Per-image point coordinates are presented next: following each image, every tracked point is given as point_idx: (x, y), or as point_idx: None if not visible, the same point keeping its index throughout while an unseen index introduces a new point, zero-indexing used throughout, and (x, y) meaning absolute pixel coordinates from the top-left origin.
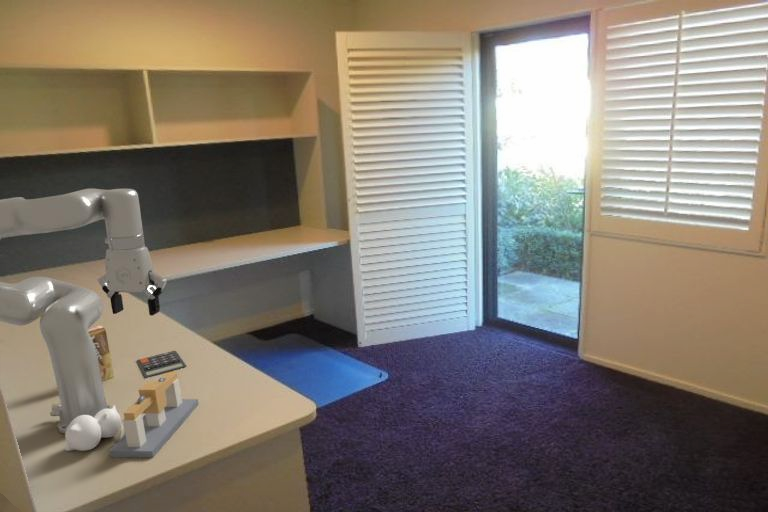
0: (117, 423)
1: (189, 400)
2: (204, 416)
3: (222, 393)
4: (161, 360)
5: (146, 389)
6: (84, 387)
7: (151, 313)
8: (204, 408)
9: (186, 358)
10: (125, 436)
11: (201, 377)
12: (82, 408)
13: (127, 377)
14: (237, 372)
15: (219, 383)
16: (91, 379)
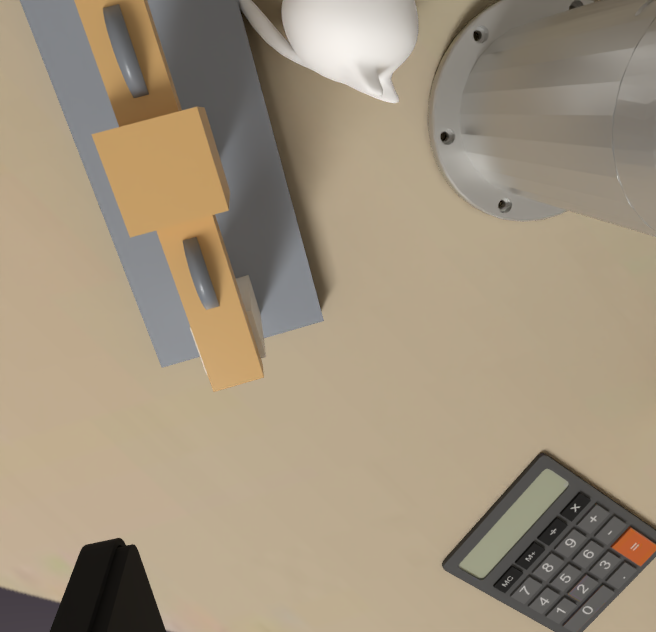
0: (282, 17)
1: (190, 348)
2: (61, 288)
3: (135, 455)
4: (569, 568)
5: (150, 123)
6: (563, 50)
7: (77, 562)
8: (114, 340)
9: (489, 613)
10: (229, 10)
11: (321, 524)
12: (526, 38)
13: (617, 435)
14: (205, 596)
15: (211, 511)
16: (561, 97)
